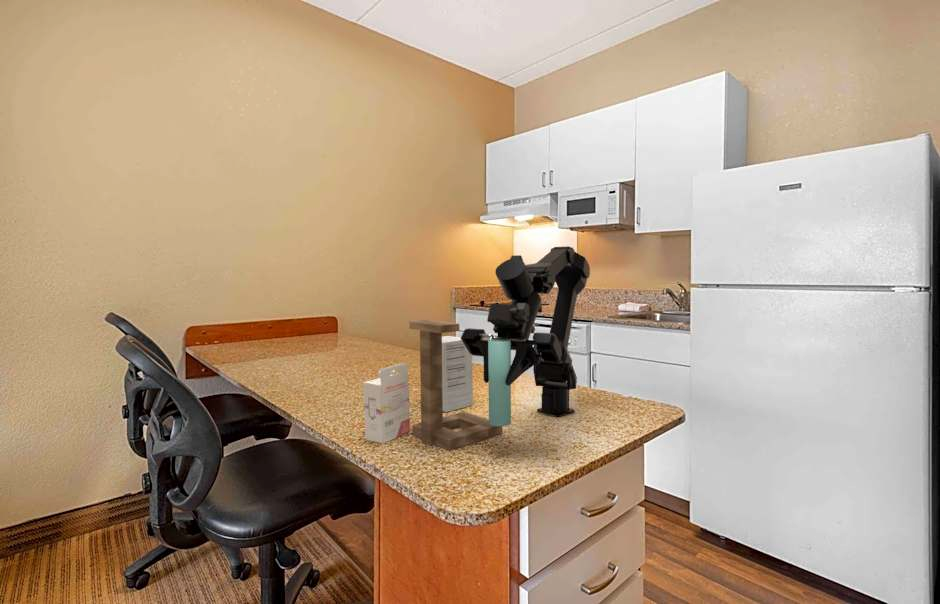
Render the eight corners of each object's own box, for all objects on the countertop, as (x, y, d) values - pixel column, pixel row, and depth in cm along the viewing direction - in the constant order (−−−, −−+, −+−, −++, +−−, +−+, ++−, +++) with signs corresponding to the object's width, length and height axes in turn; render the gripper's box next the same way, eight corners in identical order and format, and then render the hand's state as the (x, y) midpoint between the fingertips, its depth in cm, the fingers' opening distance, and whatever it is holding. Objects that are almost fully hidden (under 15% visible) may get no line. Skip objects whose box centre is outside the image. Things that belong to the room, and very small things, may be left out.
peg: (500, 417, 89) (500, 338, 88) (515, 423, 86) (515, 340, 85) (484, 422, 87) (483, 340, 86) (498, 427, 83) (498, 342, 82)
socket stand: (464, 420, 107) (463, 316, 105) (502, 433, 98) (502, 320, 96) (408, 435, 97) (406, 321, 95) (445, 452, 88) (444, 325, 86)
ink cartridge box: (392, 427, 102) (391, 359, 101) (410, 431, 99) (409, 362, 98) (363, 440, 95) (362, 366, 94) (382, 444, 92) (381, 369, 91)
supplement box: (474, 405, 119) (473, 338, 118) (445, 413, 112) (445, 342, 111) (449, 398, 126) (448, 334, 125) (421, 405, 119) (420, 338, 118)
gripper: (465, 287, 93) (433, 352, 84) (556, 288, 83) (532, 361, 75) (484, 323, 100) (457, 386, 91) (570, 327, 91) (550, 398, 82)
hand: (496, 382), depth 85 cm, fingers closed on peg, 4 cm apart
